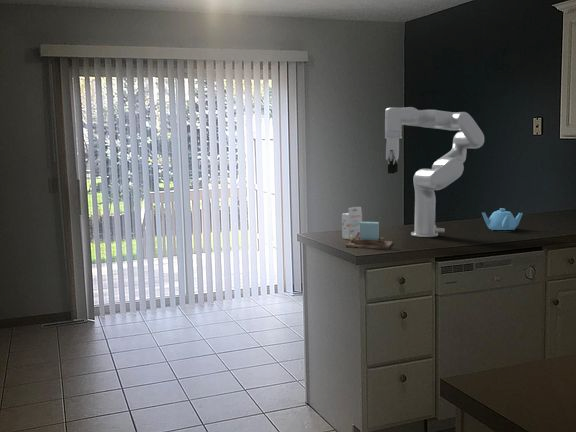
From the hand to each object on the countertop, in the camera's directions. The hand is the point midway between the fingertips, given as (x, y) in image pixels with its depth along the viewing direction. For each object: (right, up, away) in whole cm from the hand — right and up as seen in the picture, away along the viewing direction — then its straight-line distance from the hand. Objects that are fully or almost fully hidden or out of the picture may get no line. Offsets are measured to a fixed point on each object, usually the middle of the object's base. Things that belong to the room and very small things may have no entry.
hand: (392, 172), depth 292 cm
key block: (-13, -32, -16) cm, 37 cm away
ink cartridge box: (-18, -30, +5) cm, 36 cm away
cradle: (-13, -33, -15) cm, 38 cm away
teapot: (+59, -27, +28) cm, 71 cm away
